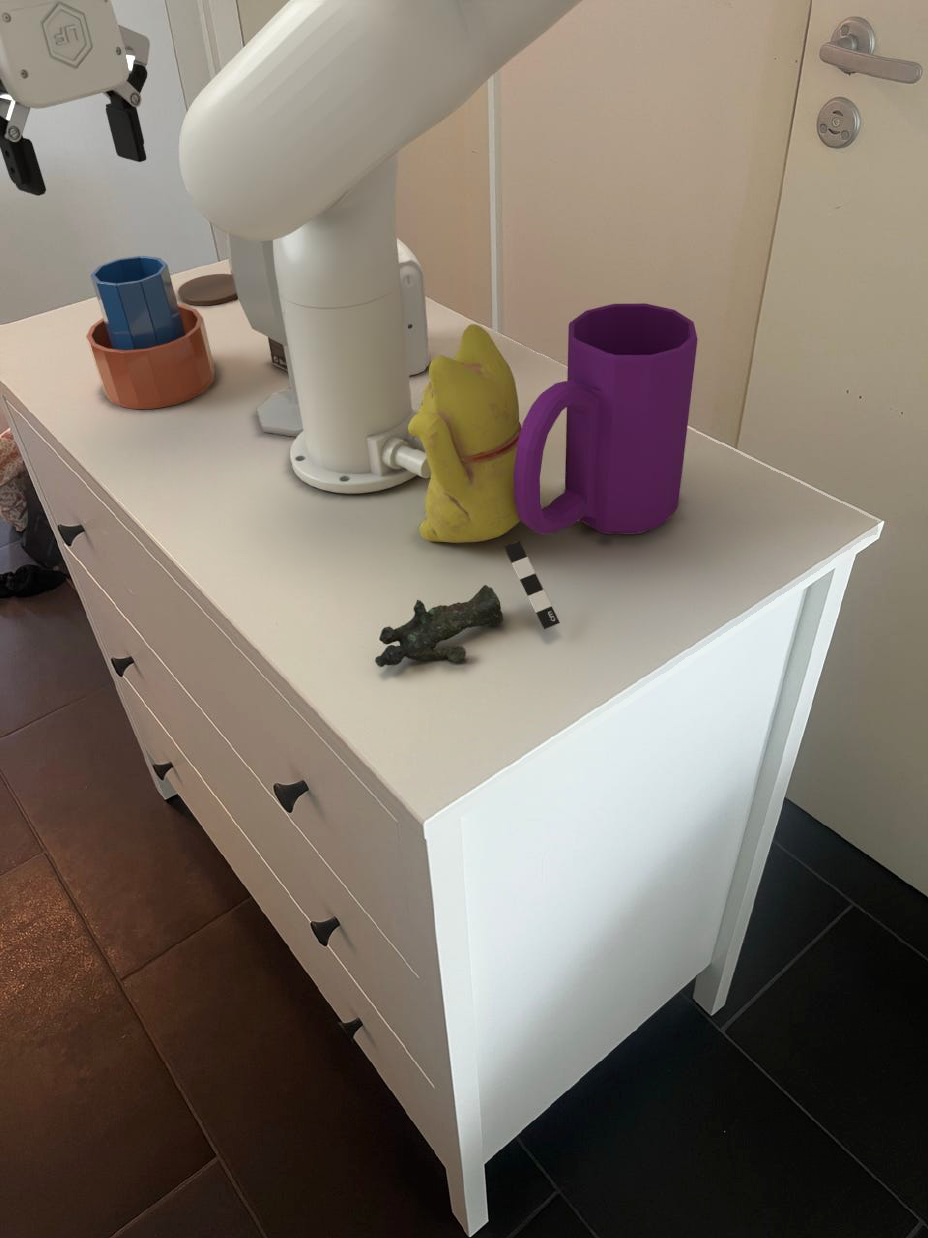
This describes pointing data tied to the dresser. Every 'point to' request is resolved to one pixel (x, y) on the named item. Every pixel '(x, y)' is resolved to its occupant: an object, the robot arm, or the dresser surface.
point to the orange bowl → (155, 366)
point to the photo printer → (413, 310)
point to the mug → (613, 422)
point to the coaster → (208, 290)
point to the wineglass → (265, 324)
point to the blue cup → (137, 302)
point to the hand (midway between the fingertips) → (84, 174)
